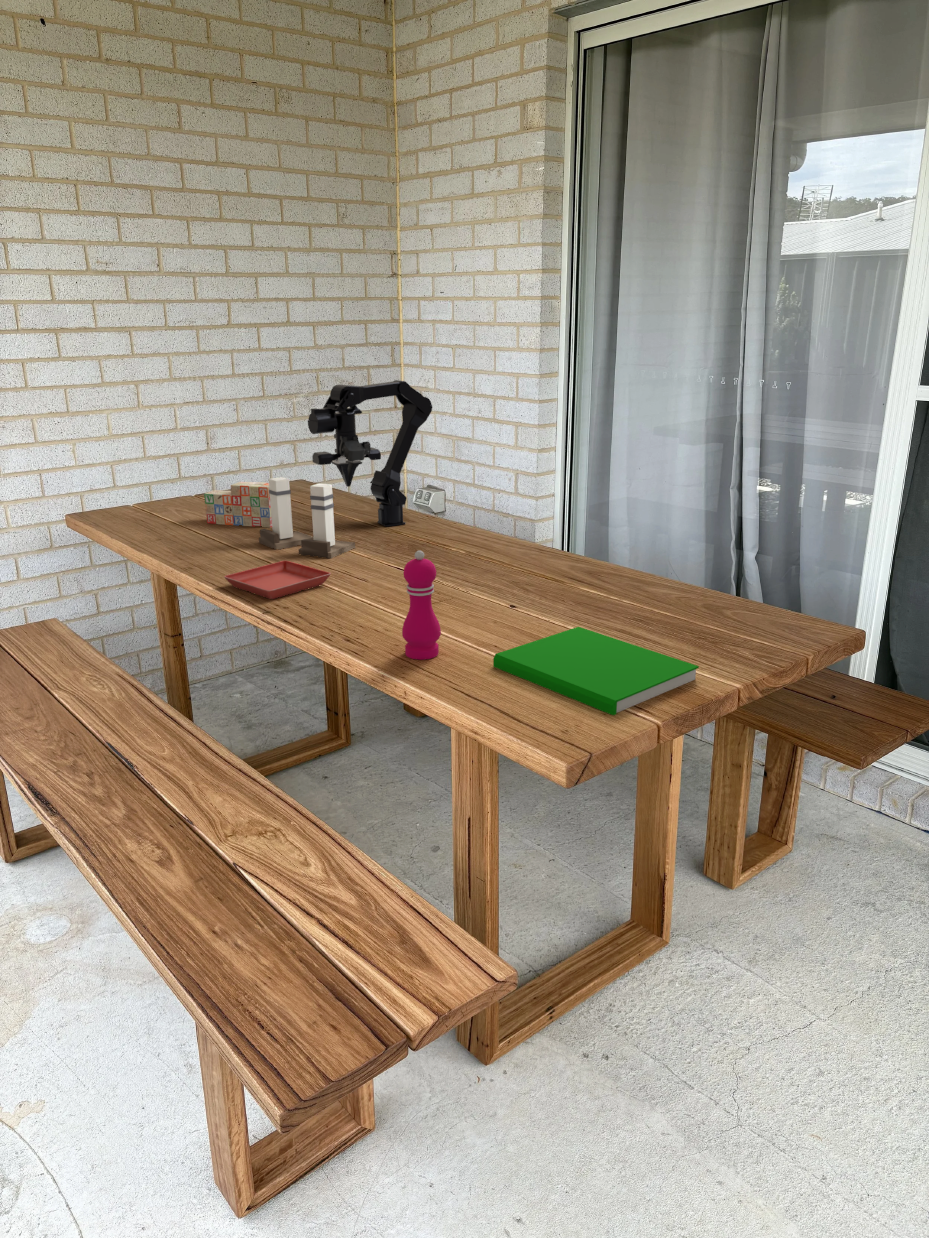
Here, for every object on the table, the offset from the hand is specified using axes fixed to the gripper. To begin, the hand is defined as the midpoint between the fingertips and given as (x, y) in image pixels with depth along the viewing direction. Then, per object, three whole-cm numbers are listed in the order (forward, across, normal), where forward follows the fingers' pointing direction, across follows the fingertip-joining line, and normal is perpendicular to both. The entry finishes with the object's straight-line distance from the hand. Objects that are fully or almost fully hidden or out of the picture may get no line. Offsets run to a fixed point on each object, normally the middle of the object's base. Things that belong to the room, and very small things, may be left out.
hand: (348, 486), depth 266 cm
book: (+14, -5, -124) cm, 125 cm away
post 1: (+11, -22, -4) cm, 25 cm away
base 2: (+13, -14, -19) cm, 27 cm away
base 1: (+13, -20, -4) cm, 25 cm away
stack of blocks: (+13, -24, +26) cm, 38 cm away
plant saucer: (+14, -36, -43) cm, 58 cm away
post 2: (+11, -15, -19) cm, 27 cm away
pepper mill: (+13, -27, -100) cm, 104 cm away
